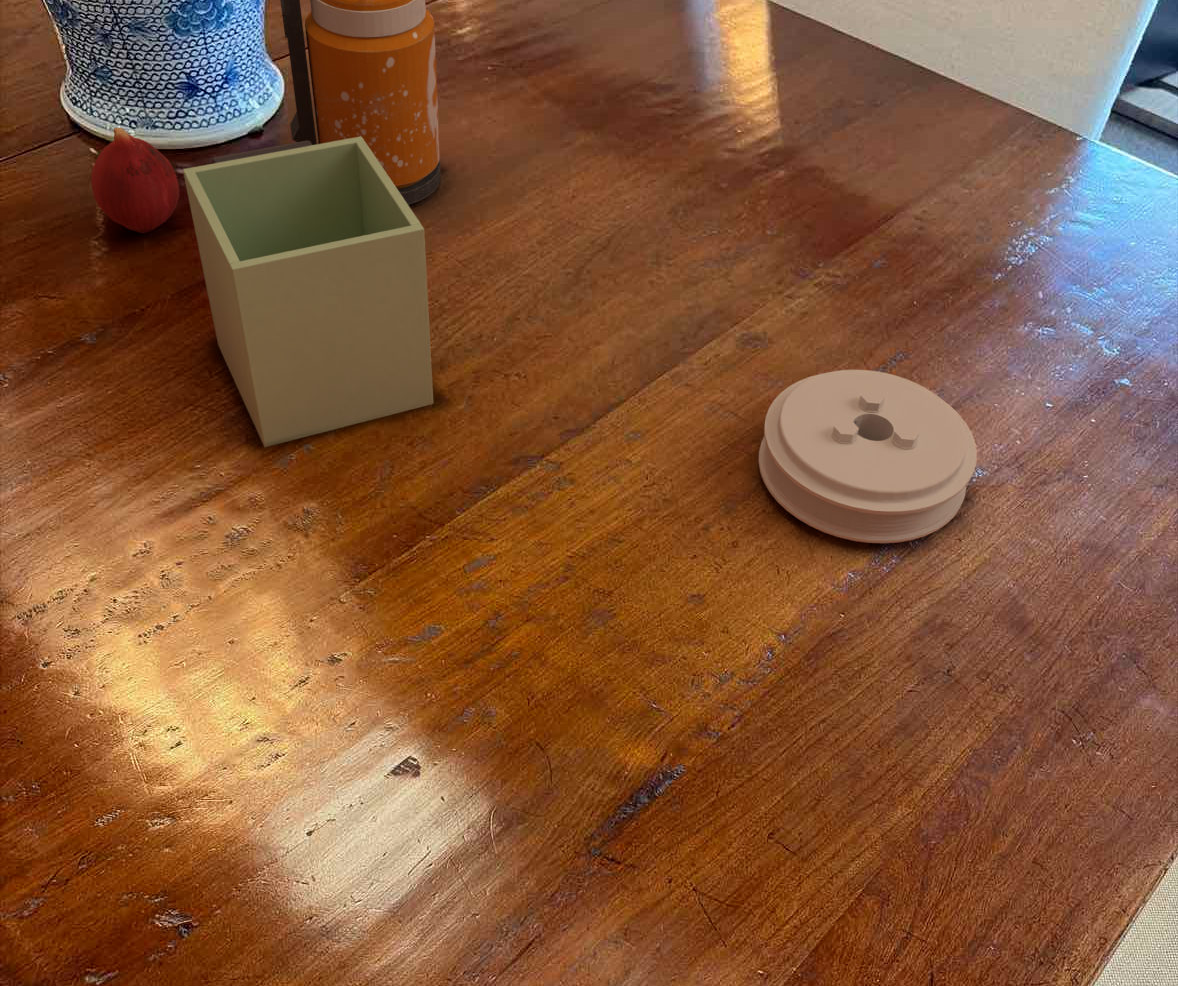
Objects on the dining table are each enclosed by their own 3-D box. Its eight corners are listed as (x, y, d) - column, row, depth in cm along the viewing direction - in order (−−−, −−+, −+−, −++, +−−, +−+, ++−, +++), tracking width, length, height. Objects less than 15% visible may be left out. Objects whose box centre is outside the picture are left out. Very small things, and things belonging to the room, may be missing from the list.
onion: (195, 212, 97) (175, 110, 91) (176, 256, 93) (154, 153, 87) (117, 207, 97) (91, 105, 91) (94, 251, 93) (66, 148, 87)
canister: (448, 211, 98) (438, -64, 84) (300, 223, 97) (262, -57, 82) (432, 151, 104) (420, -117, 90) (292, 160, 102) (255, -112, 88)
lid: (718, 494, 79) (729, 431, 75) (814, 389, 86) (828, 327, 83) (908, 586, 75) (929, 524, 71) (993, 467, 82) (1016, 405, 78)
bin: (424, 228, 74) (340, 104, 83) (231, 269, 70) (166, 135, 79) (434, 406, 83) (358, 278, 92) (264, 450, 80) (203, 312, 89)
